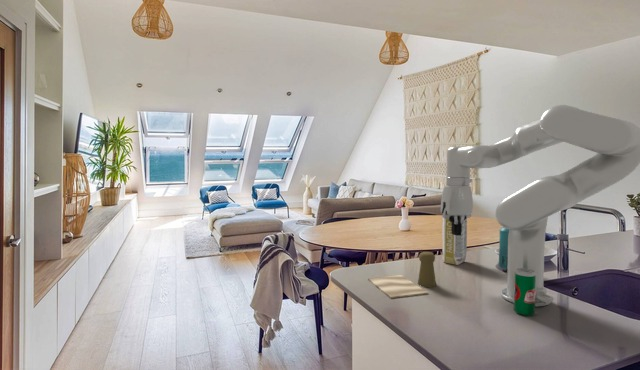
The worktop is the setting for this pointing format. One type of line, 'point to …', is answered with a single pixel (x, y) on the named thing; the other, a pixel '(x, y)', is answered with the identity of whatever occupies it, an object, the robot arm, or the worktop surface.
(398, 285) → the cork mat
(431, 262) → the pepper shaker
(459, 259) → the juice carton
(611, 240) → the worktop surface
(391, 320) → the worktop surface
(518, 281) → the soda can
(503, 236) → the beverage bottle
